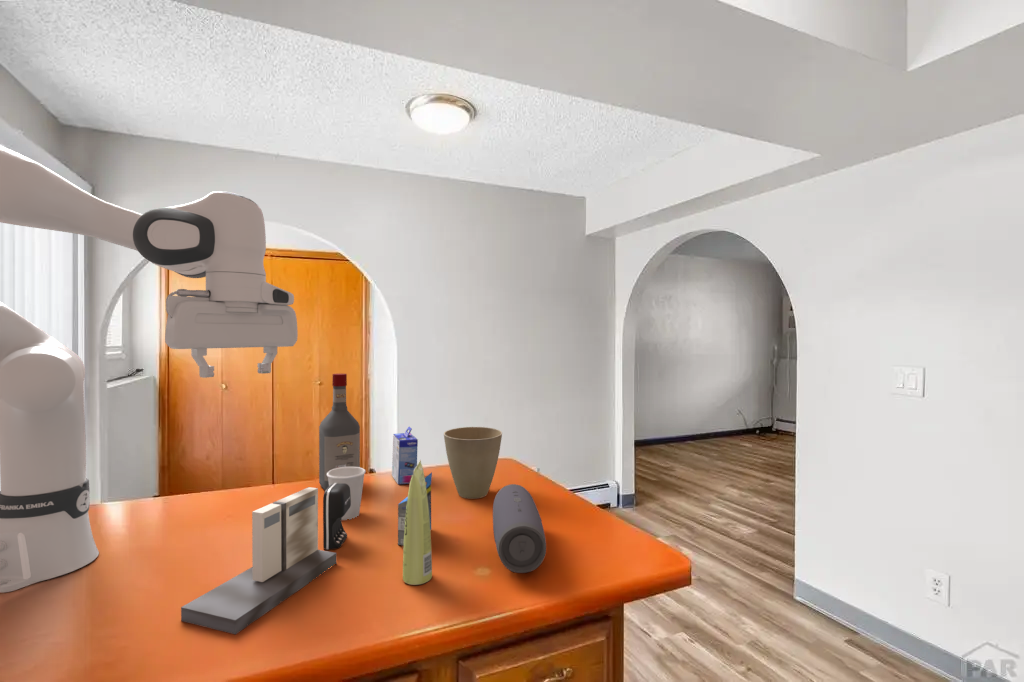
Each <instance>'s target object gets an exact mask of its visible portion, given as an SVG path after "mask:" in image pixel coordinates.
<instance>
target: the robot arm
mask: <svg viewBox="0 0 1024 682" xmlns="http://www.w3.org/2000/svg"><path fill="white" fill-rule="evenodd" d="M0 223H1V224H8V225H12V226H20V227H27V228H28V227H29V228H33V229H34V228H35V229H41V230H50V231H56V232H64V233H69V234H74V235H75V234H76V235H80V236H81V235H82V236H86V237H91V238H96V239H97V240H98V239H99V240H102V241H104V242H108V243H111V244H115V245H118V246H121V247H124V248H127V249H130V250H134V251H137V252H138V253H139V254H140V255H141V256H142V257H143V258H144V259H145V260H147V261H148V262H149V263H152V264H154V265H155V266H158V267H160V268H162V269H166V270H169V271H171V272H174V273H177V274H178V275H180V276H182V277H185V278H189V279H202V278H205V290H204V289H185V288H177V289H176V290H175V291H173V292H171V293H169V294H168V295H167V296H166V298H165V312H166V313H167V317H166V318H167V319H166V324H165V333H164V343H165V344H166V345H167V347H169V348H170V349H172V350H190V349H191V350H190V351H191V353H190V355H191V358H192V359H193V361H194V362H195V363H196V364H197V366H198V370H199V377H200V378H203V379H204V378H205V379H207V378H214V376H215V372H214V371H215V366H214V365H209V364H208V362H207V360H206V359H205V357H206V356H208V349H234V348H236V349H239V348H243V349H244V348H263V349H262V350H263V353H264V354H265V356H264V358H263V360H262V362H258V363H257V373H258V374H262V375H263V374H271V372H272V363H273V362H274V360H275V358H276V357H277V355H278V348H279V347H281V348H282V347H283V348H284V347H285V348H286V347H294V346H295V344H296V343H297V341H298V320H297V319H298V318H297V313H296V311H295V309H294V308H293V307H292V305H293V304H294V302H295V296H294V294H293V293H292V292H290V291H287V290H285V289H283V288H280V287H278V286H275V285H274V284H272V283H269V282H267V273H266V271H265V266H264V258H265V255H266V251H267V250H266V249H267V247H266V246H267V245H266V243H267V241H266V238H267V237H266V225H265V218H264V214H263V211H262V209H261V208H260V206H259V204H257V203H256V202H255V201H253V200H252V199H250V198H249V197H245V196H244V195H241V194H237V193H235V192H231V191H224V190H222V191H221V190H215V191H211V192H210V193H208V194H207V195H205V196H204V197H202V198H200V199H196V200H194V201H192V202H188V203H185V204H184V203H183V204H178V205H174V206H173V205H172V206H167V207H164V206H163V207H156V208H155V207H154V208H152V209H149V210H147V211H146V212H144V213H139V212H136V211H134V210H130V209H127V208H124V207H121V206H119V205H115V204H114V203H110V202H107V201H105V200H103V199H101V198H98V197H97V196H95V195H92V194H91V193H89V192H88V191H86V190H83V189H82V188H80V187H79V186H77V185H76V184H74V183H72V181H71V182H70V181H69V180H67V179H66V178H64V177H62V176H61V175H59V173H56V172H54V171H53V170H51V168H48V167H46V166H44V165H42V164H41V163H39V162H37V161H35V160H33V159H31V158H29V157H27V156H24V155H22V154H20V153H19V152H17V151H14V150H12V149H9V148H7V147H4V146H2V145H0ZM290 305H291V306H290ZM204 356H205V357H204ZM85 377H86V367H85V364H84V362H83V360H82V358H80V356H79V355H78V354H77V353H76V352H75V351H73V350H72V349H70V348H69V347H67V346H66V345H65V344H64V343H62V342H60V341H59V340H57V339H56V338H55V337H53V336H52V335H50V334H49V333H47V332H46V331H45V330H43V329H41V328H40V327H38V326H37V325H35V324H34V323H33V322H31V321H30V320H28V319H27V318H26V317H24V316H22V315H21V314H19V313H18V312H16V311H15V310H13V309H12V308H11V307H9V306H8V305H6V304H5V303H3V302H2V301H1V300H0V593H9V592H13V591H16V590H20V589H22V588H24V587H28V586H30V585H32V584H36V583H39V582H42V581H46V580H50V579H54V578H57V577H60V576H63V575H67V574H68V573H71V572H74V571H76V570H78V569H79V570H80V568H83V567H85V566H86V565H88V564H90V563H92V562H93V561H95V560H96V558H97V557H99V554H100V552H99V549H98V547H97V545H96V542H95V539H94V537H93V531H92V527H91V523H90V516H89V510H90V503H91V502H90V501H91V499H90V498H91V497H90V493H91V491H90V480H89V478H87V459H86V457H87V456H86V455H87V454H86V453H87V450H86V448H87V447H86V446H87V445H86V439H87V438H86V423H85V422H86V420H85V419H86V417H85V415H86V414H85V393H84V392H85V387H84V386H85V384H84V383H85Z"/></svg>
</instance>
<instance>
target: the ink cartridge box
mask: <svg viewBox="0 0 1024 682" xmlns="http://www.w3.org/2000/svg"><path fill="white" fill-rule="evenodd" d="M412 430H413V429H412V427H410V426H408V427H407V428H406V430H405V431H404V433H403V432H402V433H393V434H392V458H391V460H392V461H391V476H392V478H393V479H394V481H395V482H396V484H397V485H406V484H407V485H408V484H409V485H410V481H411V478H412V475H413V471H414V469H415V467H416V466H417V464H418V442H419V441H418V440H419V439H418V438H417V437H415V436H414V435H413V434H412V433H411V432H412Z"/></svg>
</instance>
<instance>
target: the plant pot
mask: <svg viewBox="0 0 1024 682" xmlns="http://www.w3.org/2000/svg"><path fill="white" fill-rule="evenodd" d="M502 437H503V432H502V430H500V429H497V428H493V427H488V426H487V427H485V426H463V427H455V428H450V429H448V430H445V431H444V432H443V439H444V447H445V452H446V457H447V462H448V466H449V471H450V473H451V477H452V479H453V483H454V485H455V489H456V491H457V493H458V496H460V498H463V499H469V500H471V499H473V500H474V499H481V498H484V497H486V496H487V495H488V493H489V491H490V488H491V484H492V483H493V479H494V476H495V472H496V469H497V465H498V460H499V456H500V450H501V444H502V439H503V438H502Z"/></svg>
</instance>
